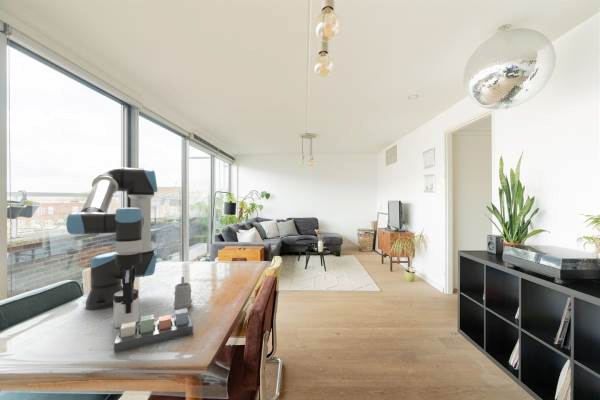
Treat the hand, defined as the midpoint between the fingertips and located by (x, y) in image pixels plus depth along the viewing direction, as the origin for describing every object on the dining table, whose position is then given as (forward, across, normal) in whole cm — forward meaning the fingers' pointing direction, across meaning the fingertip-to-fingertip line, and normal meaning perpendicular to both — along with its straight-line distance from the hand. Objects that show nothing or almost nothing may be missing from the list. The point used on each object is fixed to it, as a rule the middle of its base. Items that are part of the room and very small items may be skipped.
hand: (128, 321), depth 87 cm
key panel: (+7, 0, +8) cm, 11 cm away
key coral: (+6, 0, +11) cm, 12 cm away
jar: (+7, -17, -2) cm, 18 cm away
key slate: (+4, 0, +17) cm, 17 cm away
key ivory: (+6, 0, 0) cm, 6 cm away
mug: (+8, -25, +19) cm, 32 cm away
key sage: (+4, 0, +5) cm, 7 cm away
